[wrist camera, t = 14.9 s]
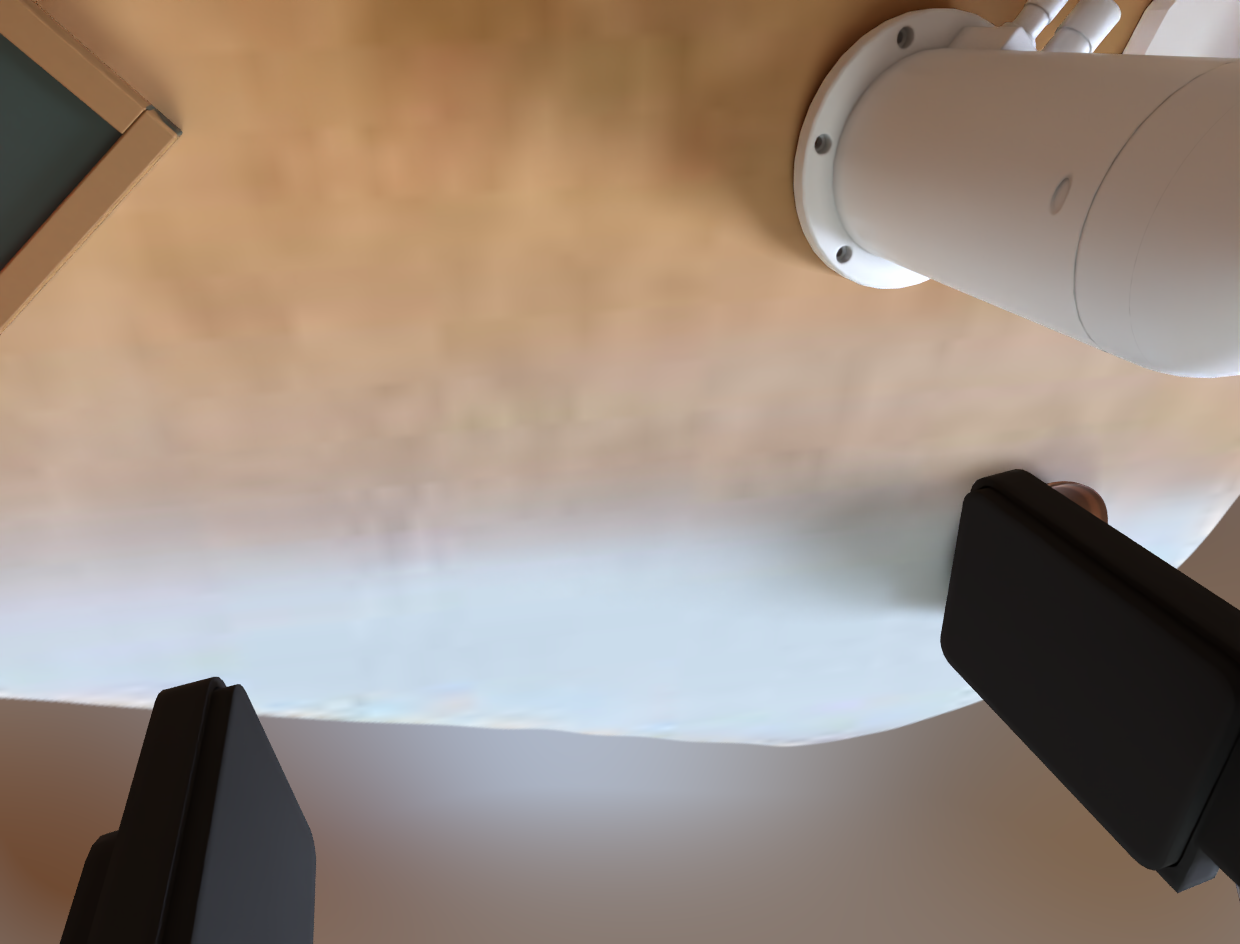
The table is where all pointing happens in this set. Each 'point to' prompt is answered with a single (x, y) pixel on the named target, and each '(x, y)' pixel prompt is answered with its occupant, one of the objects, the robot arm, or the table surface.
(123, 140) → the chalkboard
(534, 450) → the table surface
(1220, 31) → the dish
